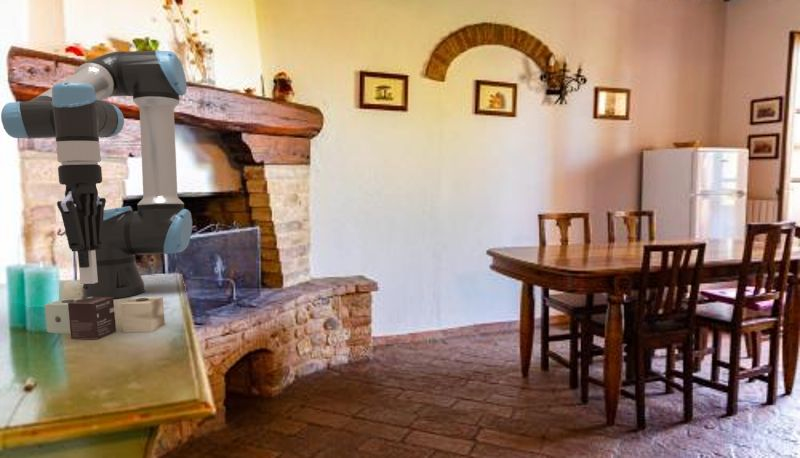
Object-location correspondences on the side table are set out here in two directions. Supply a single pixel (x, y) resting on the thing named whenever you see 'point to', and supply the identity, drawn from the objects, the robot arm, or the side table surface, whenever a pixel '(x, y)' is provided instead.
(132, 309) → the beech block marked
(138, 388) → the side table surface
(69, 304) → the box
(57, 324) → the sage block partly covered
